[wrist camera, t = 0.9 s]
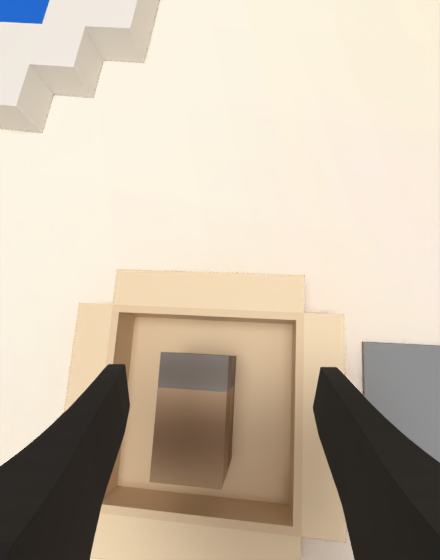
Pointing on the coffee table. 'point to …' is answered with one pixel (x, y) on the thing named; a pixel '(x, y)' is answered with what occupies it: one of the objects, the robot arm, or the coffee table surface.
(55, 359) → the coffee table surface
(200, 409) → the walnut block
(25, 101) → the pixel art tile
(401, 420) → the slate mat
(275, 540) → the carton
